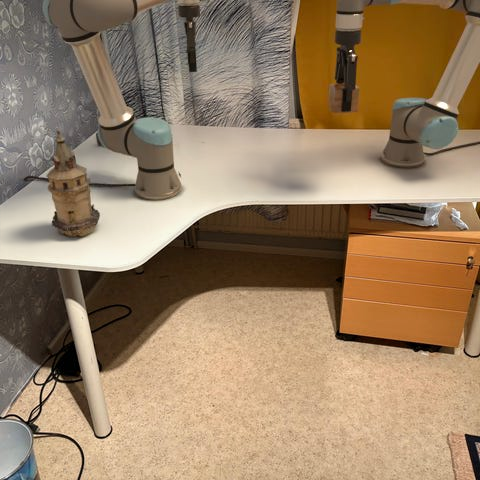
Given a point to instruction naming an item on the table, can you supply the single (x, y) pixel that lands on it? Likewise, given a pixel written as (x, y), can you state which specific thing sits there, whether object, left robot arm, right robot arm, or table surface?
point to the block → (337, 96)
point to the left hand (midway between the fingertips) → (192, 67)
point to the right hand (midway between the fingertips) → (342, 107)
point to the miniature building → (70, 193)
